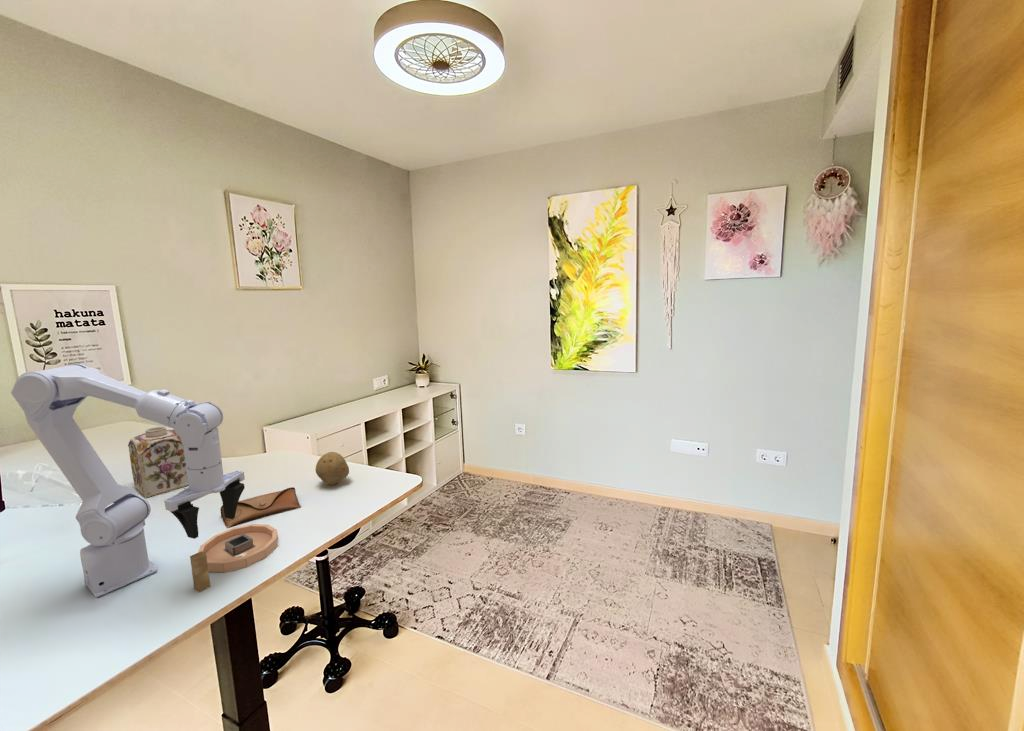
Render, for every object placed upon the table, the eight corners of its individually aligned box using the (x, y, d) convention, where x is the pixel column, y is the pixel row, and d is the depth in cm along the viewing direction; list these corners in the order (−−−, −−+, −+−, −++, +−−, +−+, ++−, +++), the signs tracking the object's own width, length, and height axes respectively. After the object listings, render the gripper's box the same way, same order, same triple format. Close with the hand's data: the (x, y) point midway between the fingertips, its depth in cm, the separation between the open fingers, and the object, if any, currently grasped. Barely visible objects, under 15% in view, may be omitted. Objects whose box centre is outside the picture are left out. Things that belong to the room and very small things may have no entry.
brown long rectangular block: (198, 592, 82) (194, 559, 81) (194, 588, 83) (189, 556, 82) (210, 586, 84) (206, 554, 82) (205, 582, 85) (201, 551, 84)
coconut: (312, 482, 129) (309, 451, 127) (341, 474, 135) (339, 444, 133) (322, 493, 122) (319, 460, 121) (352, 484, 128) (350, 453, 127)
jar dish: (217, 581, 85) (216, 572, 85) (186, 555, 93) (185, 547, 93) (290, 545, 97) (289, 537, 97) (257, 525, 106) (256, 518, 105)
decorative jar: (144, 499, 118) (134, 438, 115) (133, 487, 125) (124, 429, 122) (195, 484, 128) (187, 427, 125) (182, 474, 135) (175, 419, 132)
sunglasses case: (224, 529, 103) (220, 502, 105) (223, 532, 109) (219, 506, 110) (303, 506, 115) (299, 482, 116) (299, 510, 120) (294, 487, 121)
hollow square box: (233, 557, 92) (232, 549, 92) (223, 549, 95) (222, 542, 94) (255, 546, 96) (254, 539, 96) (245, 540, 98) (244, 533, 98)
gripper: (179, 482, 76) (188, 550, 79) (252, 454, 90) (258, 513, 92) (153, 476, 79) (163, 543, 81) (228, 449, 92) (235, 507, 94)
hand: (212, 526), depth 87 cm, fingers open, 7 cm apart
